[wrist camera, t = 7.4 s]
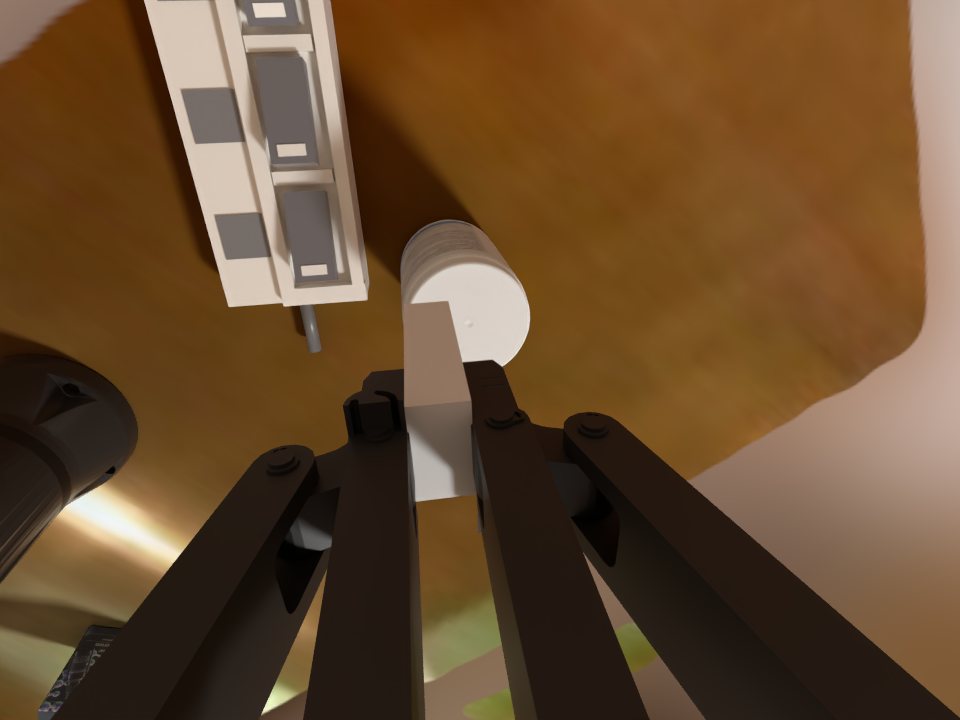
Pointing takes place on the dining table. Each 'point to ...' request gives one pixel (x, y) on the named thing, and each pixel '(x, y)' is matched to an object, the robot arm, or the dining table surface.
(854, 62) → the dining table surface
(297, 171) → the power strip
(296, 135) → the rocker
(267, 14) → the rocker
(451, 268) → the supplement tub
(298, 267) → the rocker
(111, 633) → the box
